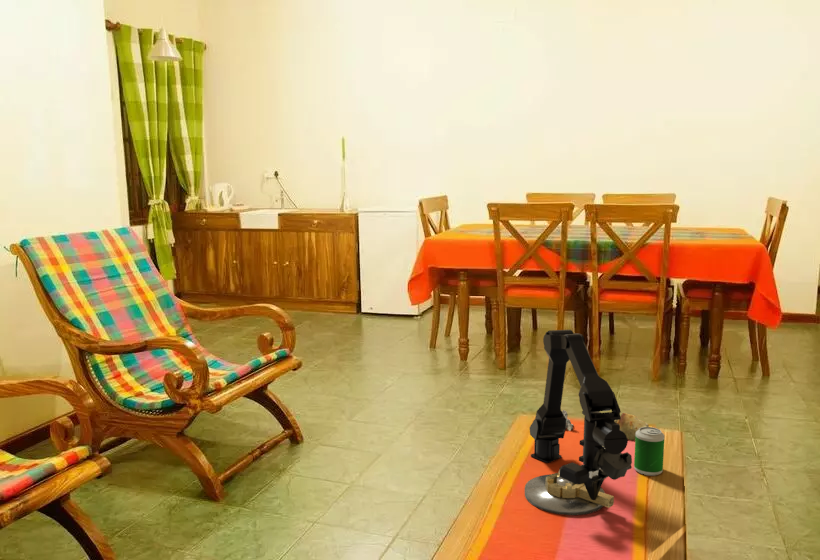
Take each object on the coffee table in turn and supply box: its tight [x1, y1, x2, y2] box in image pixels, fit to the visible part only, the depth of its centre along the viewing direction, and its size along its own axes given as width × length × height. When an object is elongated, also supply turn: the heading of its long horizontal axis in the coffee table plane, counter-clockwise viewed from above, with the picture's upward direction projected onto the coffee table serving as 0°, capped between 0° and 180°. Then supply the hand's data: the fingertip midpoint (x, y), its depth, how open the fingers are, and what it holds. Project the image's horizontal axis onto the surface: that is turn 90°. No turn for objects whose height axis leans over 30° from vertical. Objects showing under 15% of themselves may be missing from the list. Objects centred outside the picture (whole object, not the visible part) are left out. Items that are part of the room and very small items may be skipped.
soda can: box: [633, 426, 665, 477], centre depth 192 cm, size 8×8×12 cm
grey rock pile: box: [561, 409, 575, 432], centre depth 220 cm, size 9×9×8 cm
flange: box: [524, 473, 606, 516], centre depth 178 cm, size 20×20×4 cm
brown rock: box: [615, 412, 650, 441], centre depth 217 cm, size 14×12×8 cm
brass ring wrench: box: [545, 469, 615, 509], centre depth 175 cm, size 18×9×3 cm, turn 45°
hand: (593, 499), depth 171 cm, fingers closed
